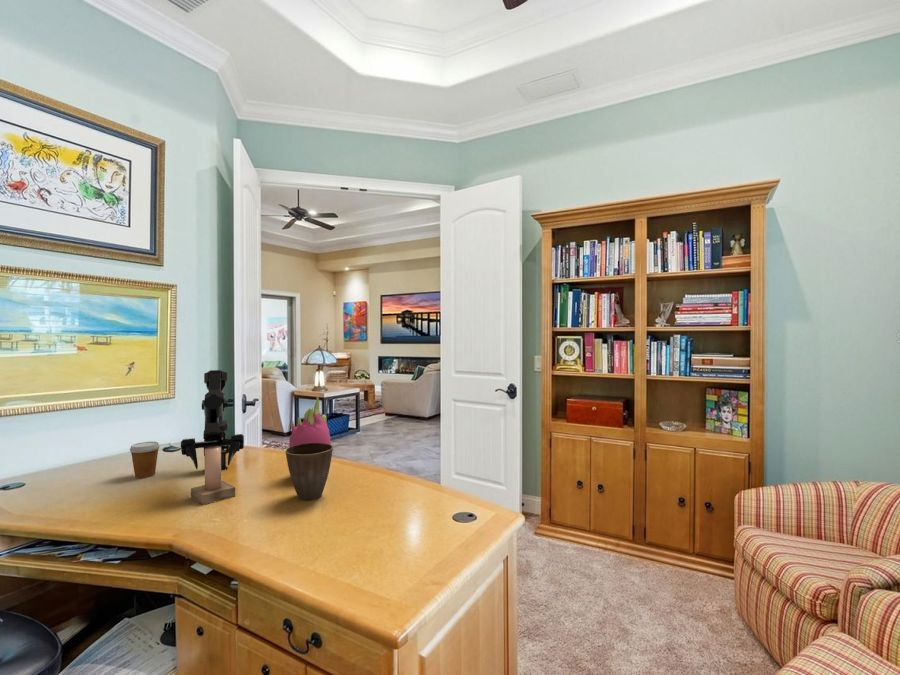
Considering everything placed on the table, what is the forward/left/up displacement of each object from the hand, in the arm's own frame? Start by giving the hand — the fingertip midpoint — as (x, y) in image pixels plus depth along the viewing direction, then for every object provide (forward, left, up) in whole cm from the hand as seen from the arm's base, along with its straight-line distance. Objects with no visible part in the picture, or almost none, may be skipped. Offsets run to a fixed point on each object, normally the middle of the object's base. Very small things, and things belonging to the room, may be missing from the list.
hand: (212, 466), depth 147 cm
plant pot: (-22, +23, -11) cm, 33 cm away
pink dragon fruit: (-34, +4, -11) cm, 35 cm away
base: (-1, -1, -10) cm, 10 cm away
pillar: (-1, -1, -7) cm, 7 cm away
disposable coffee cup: (+7, -44, -11) cm, 46 cm away
